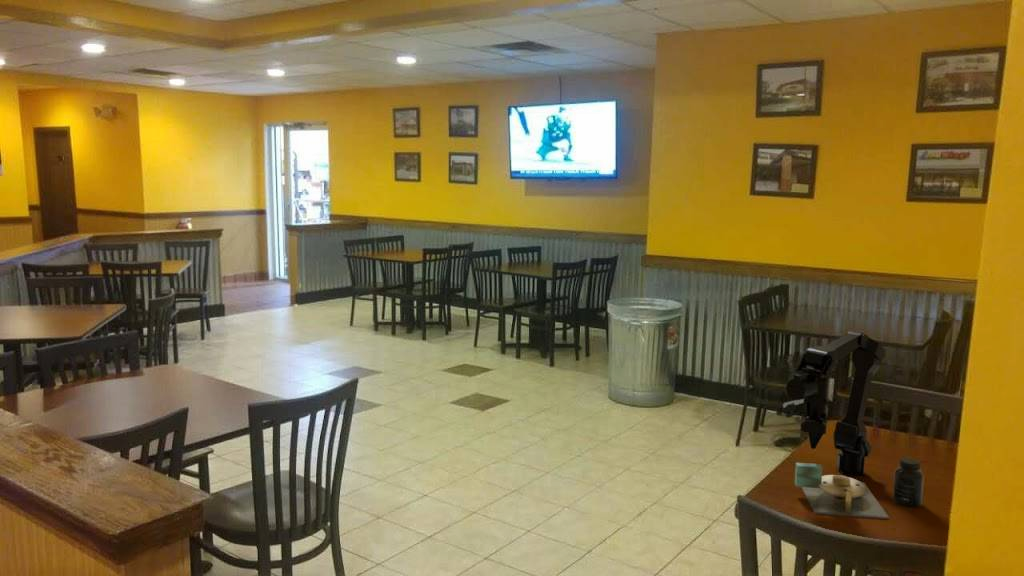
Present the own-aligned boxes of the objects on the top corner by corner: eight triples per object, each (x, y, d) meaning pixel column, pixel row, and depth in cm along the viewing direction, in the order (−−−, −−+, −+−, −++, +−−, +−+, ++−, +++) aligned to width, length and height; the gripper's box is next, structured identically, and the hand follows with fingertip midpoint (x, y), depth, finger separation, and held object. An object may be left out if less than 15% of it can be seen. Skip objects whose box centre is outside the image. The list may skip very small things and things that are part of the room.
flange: (857, 480, 204) (859, 460, 203) (870, 499, 192) (872, 477, 192) (791, 476, 207) (792, 456, 206) (800, 494, 196) (801, 472, 195)
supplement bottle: (895, 495, 202) (899, 453, 200) (923, 502, 197) (927, 459, 196) (890, 503, 196) (893, 461, 195) (918, 511, 192) (922, 467, 190)
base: (863, 483, 209) (864, 463, 208) (888, 519, 188) (890, 497, 187) (797, 479, 212) (798, 459, 211) (814, 513, 191) (816, 491, 190)
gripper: (788, 381, 214) (785, 432, 216) (782, 399, 197) (779, 454, 199) (829, 386, 209) (826, 438, 212) (827, 404, 192) (823, 460, 195)
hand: (813, 447), depth 204 cm, fingers closed
